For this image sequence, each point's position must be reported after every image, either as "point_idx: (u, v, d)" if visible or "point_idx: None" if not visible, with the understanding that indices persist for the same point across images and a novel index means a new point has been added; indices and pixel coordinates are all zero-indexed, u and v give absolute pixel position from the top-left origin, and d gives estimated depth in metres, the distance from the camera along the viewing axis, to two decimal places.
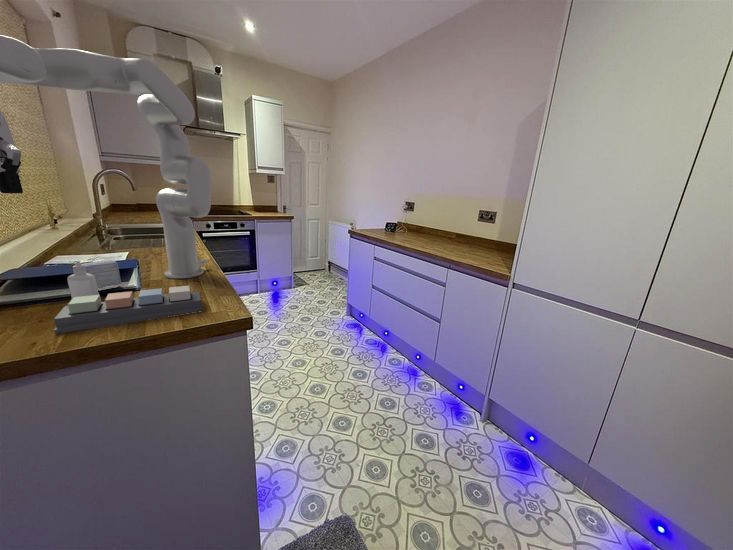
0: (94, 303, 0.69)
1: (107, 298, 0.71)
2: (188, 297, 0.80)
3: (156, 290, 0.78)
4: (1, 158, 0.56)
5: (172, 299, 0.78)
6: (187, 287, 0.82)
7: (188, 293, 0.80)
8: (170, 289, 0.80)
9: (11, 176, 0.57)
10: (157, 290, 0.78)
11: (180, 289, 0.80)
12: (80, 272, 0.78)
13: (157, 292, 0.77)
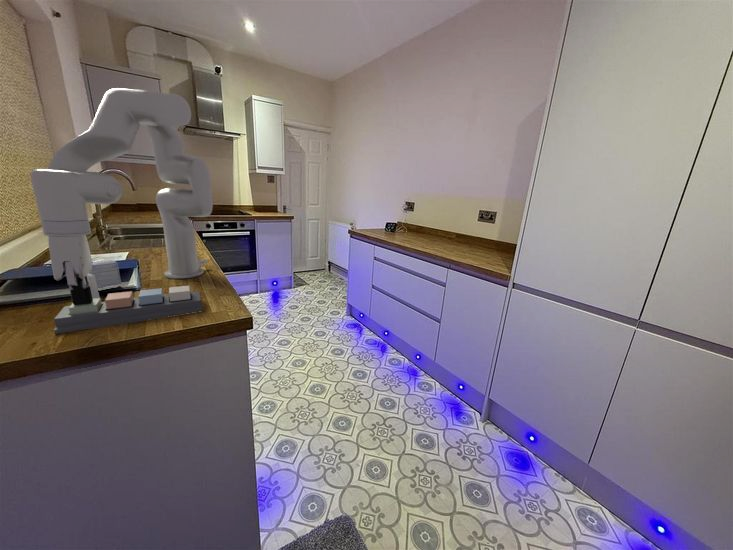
0: (95, 306, 0.70)
1: (107, 298, 0.71)
2: (188, 297, 0.80)
3: (156, 290, 0.78)
4: None
5: (172, 299, 0.78)
6: (187, 287, 0.82)
7: (188, 293, 0.80)
8: (170, 289, 0.80)
9: None
10: (157, 290, 0.78)
11: (180, 289, 0.80)
12: None
13: (157, 292, 0.77)
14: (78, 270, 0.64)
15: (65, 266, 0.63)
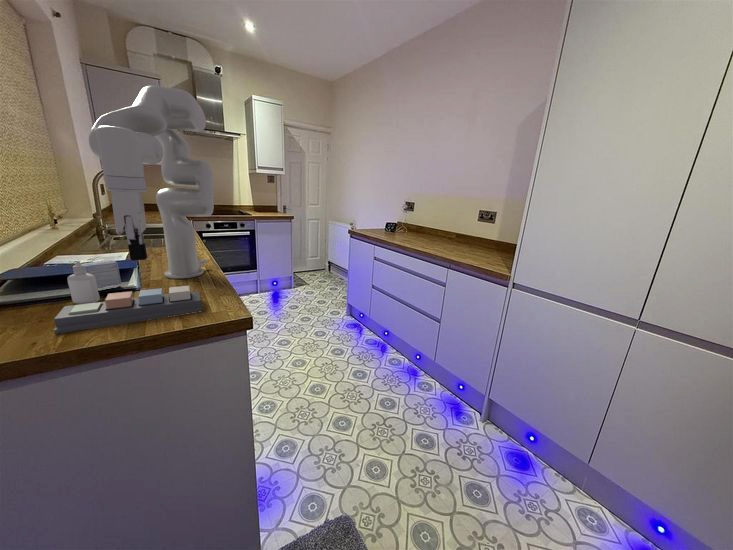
0: (96, 311, 0.70)
1: (107, 298, 0.71)
2: (188, 297, 0.80)
3: (156, 290, 0.78)
4: None
5: (172, 299, 0.78)
6: (187, 287, 0.82)
7: (188, 293, 0.80)
8: (170, 289, 0.80)
9: None
10: (157, 290, 0.78)
11: (180, 289, 0.80)
12: (80, 272, 0.78)
13: (157, 292, 0.77)
14: (137, 225, 0.68)
15: (125, 220, 0.67)
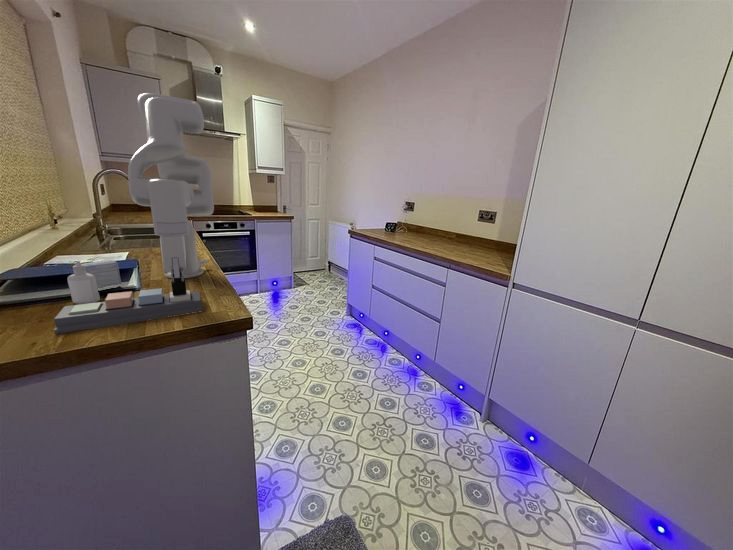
0: (96, 311, 0.70)
1: (107, 298, 0.71)
2: None
3: (156, 290, 0.78)
4: None
5: None
6: (188, 292, 0.82)
7: (189, 298, 0.80)
8: (171, 294, 0.80)
9: None
10: (157, 290, 0.78)
11: None
12: (80, 272, 0.78)
13: (157, 292, 0.77)
14: (182, 265, 0.75)
15: (172, 261, 0.74)
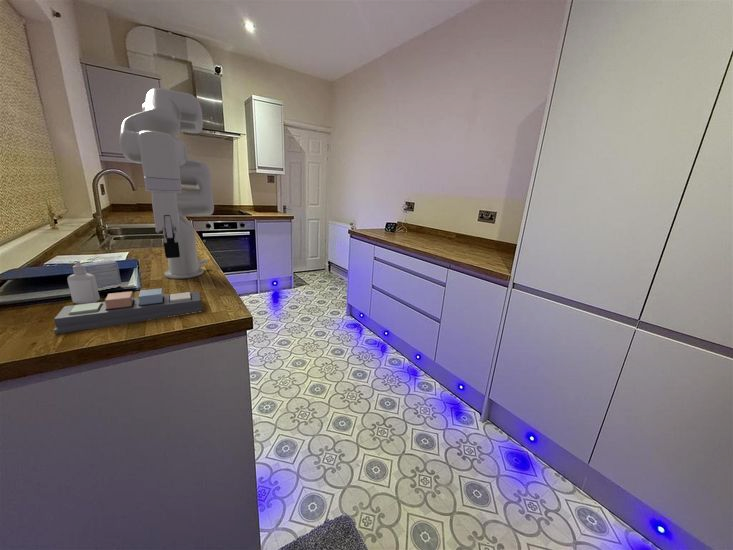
0: (96, 311, 0.70)
1: (107, 298, 0.71)
2: None
3: (156, 290, 0.78)
4: None
5: None
6: (188, 294, 0.83)
7: None
8: (171, 296, 0.80)
9: None
10: (157, 290, 0.78)
11: (181, 296, 0.81)
12: (80, 272, 0.78)
13: (157, 292, 0.77)
14: (175, 224, 0.72)
15: (165, 220, 0.71)
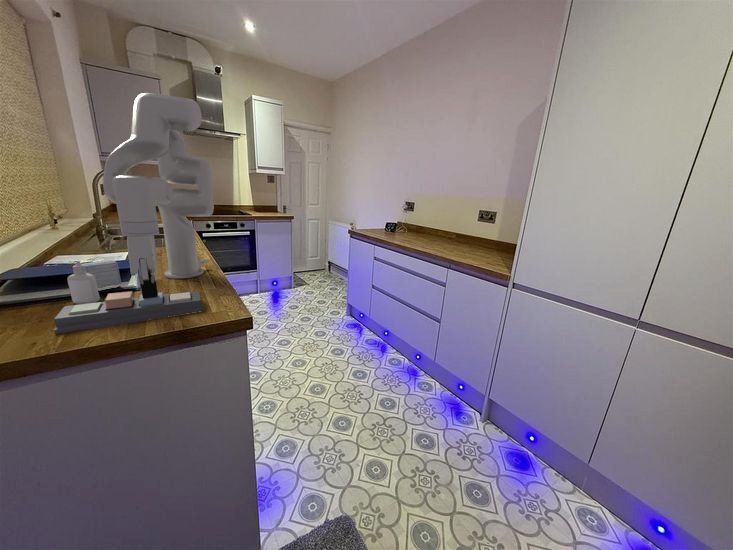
0: (96, 311, 0.70)
1: (107, 298, 0.71)
2: None
3: None
4: None
5: None
6: (188, 294, 0.83)
7: None
8: (171, 296, 0.80)
9: None
10: (158, 294, 0.79)
11: (181, 296, 0.81)
12: (80, 272, 0.78)
13: (157, 296, 0.78)
14: (151, 266, 0.71)
15: (140, 262, 0.70)
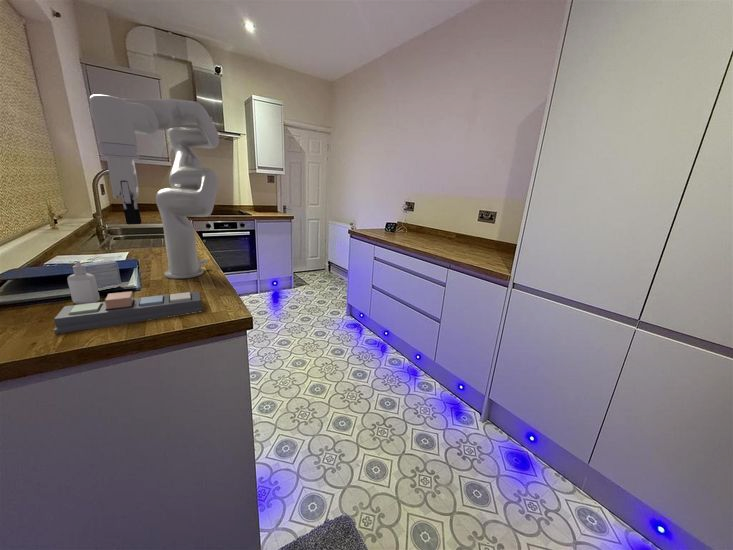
0: (96, 311, 0.70)
1: (107, 298, 0.71)
2: None
3: (157, 297, 0.79)
4: None
5: None
6: (188, 294, 0.83)
7: None
8: (171, 296, 0.80)
9: None
10: (158, 297, 0.79)
11: (181, 296, 0.81)
12: (80, 272, 0.78)
13: (158, 299, 0.78)
14: (132, 189, 0.73)
15: (122, 185, 0.72)
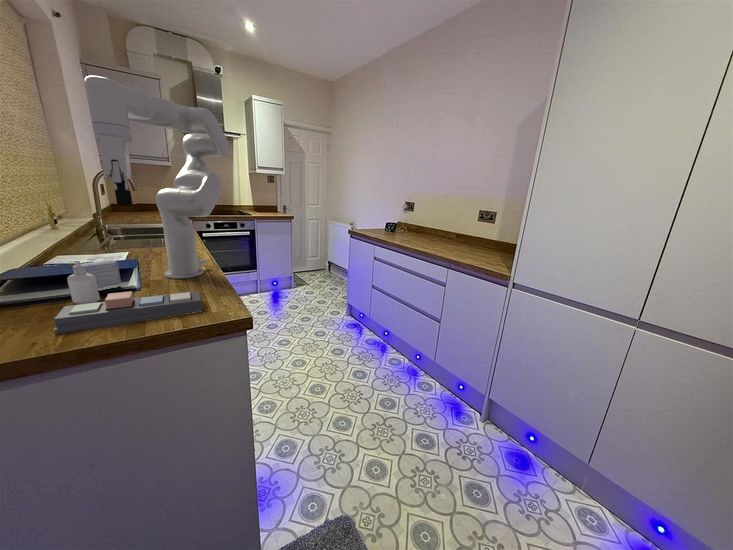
0: (96, 311, 0.70)
1: (107, 298, 0.71)
2: None
3: (157, 297, 0.79)
4: None
5: None
6: (188, 294, 0.83)
7: None
8: (171, 296, 0.80)
9: None
10: (158, 297, 0.79)
11: (181, 296, 0.81)
12: (80, 272, 0.78)
13: (158, 299, 0.78)
14: (123, 169, 0.75)
15: (112, 164, 0.74)
